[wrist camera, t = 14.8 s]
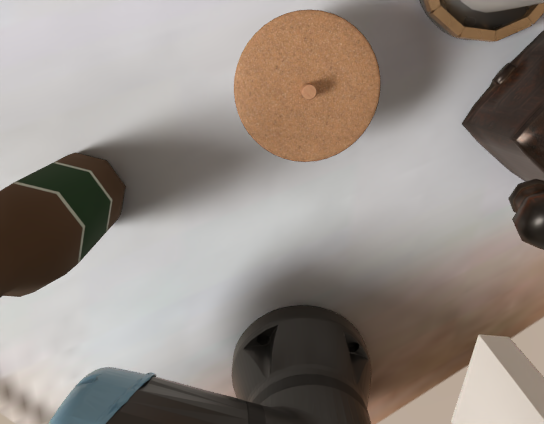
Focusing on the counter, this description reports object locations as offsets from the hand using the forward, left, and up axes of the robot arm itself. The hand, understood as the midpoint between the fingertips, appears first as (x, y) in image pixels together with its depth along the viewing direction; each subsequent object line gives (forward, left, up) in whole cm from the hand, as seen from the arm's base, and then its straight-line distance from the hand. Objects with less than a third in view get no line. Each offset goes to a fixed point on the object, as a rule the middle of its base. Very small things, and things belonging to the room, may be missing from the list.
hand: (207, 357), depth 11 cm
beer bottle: (-7, +15, -32) cm, 36 cm away
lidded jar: (+5, -4, -32) cm, 33 cm away
